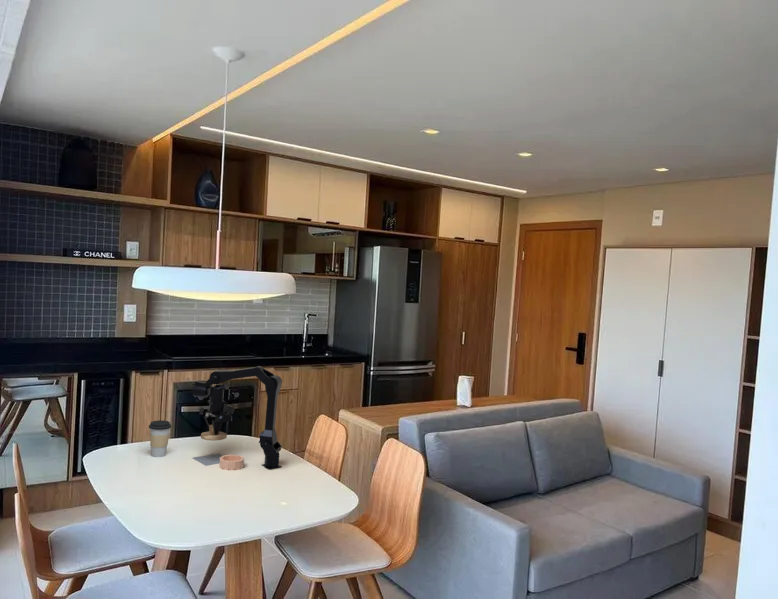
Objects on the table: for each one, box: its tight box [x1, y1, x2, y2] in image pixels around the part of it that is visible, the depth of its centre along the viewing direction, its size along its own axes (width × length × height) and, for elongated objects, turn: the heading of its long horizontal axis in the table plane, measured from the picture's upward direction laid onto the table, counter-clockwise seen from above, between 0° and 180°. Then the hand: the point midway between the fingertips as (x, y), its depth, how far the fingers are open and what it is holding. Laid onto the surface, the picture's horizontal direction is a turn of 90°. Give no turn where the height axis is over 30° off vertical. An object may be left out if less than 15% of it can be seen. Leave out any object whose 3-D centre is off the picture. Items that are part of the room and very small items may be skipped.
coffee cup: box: [148, 419, 172, 458], centre depth 260 cm, size 9×9×15 cm
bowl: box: [219, 454, 245, 471], centre depth 252 cm, size 10×10×4 cm
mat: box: [192, 453, 223, 467], centre depth 260 cm, size 13×13×1 cm
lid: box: [200, 425, 228, 441], centre depth 260 cm, size 11×11×5 cm
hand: (214, 433), depth 260 cm, fingers closed on lid, 3 cm apart
